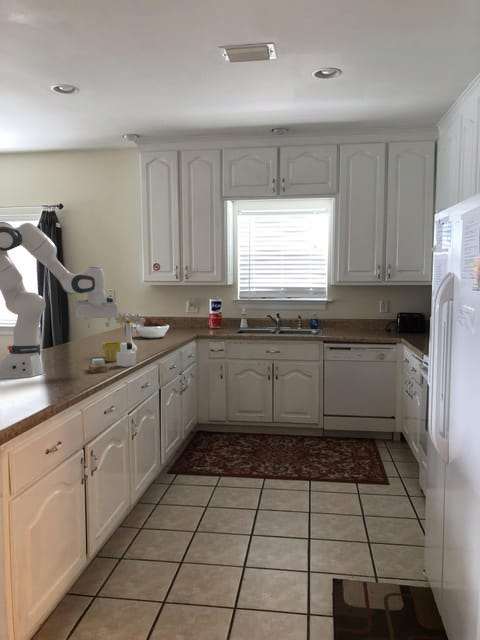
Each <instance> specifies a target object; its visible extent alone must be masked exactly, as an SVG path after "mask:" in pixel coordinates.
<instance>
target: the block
mask: <svg viewBox="0 0 480 640" xmlns="http://www.w3.org/2000/svg"><path fill="white" fill-rule="evenodd" d="M88 372H90V373H92V374H98V373H99V374H101V373H107V372H108V365H107V364H105V365H104V364H94V365H92V364H89V365H88Z"/></svg>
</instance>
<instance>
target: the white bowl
mask: <svg viewBox="0 0 480 640" xmlns="http://www.w3.org/2000/svg"><path fill="white" fill-rule="evenodd" d="M143 324H144V327H142V325H141V329H140V324H137V325H136V324H135V325H136V326H135V329H136V330H137V332H138V333H139V334H140V336H141V337H142V338H146V339H159V338H163V337H164V336H165V335H166V333H167V331H168V330H169V328H170V325H169V324H167V323H166V322H165V320H163V319H160V320H157V318H149V319H148V320H146V321H145V322H144V323H143Z"/></svg>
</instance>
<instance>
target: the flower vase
mask: <svg viewBox="0 0 480 640" xmlns="http://www.w3.org/2000/svg"><path fill="white" fill-rule="evenodd" d="M114 320H115V321H116V322H115V323H117V324H119V325H120V326H121V327H122V326H123V324H124V325H125V328H126V330H125V331H126V332H125V333H126V334H125V336H126V337H125V341H124V343H132V352H137V351H138V346H137V345H136V344H135V343H134V341H133V338H132V335H133V334H132V328H133V327H132V326H133V324H134V325H138V324H139V325H140V329H141V325H142V327H144V324H143V323H144V322H145V321H147V319H145V315H144V316H143V317H142V318H140V317H139V313H137V314H136V313H134V315H132V314H131V312H129V313H128V316H127V314H126V313H123V314H122V313H121V312H118V316H117V317H114Z"/></svg>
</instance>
